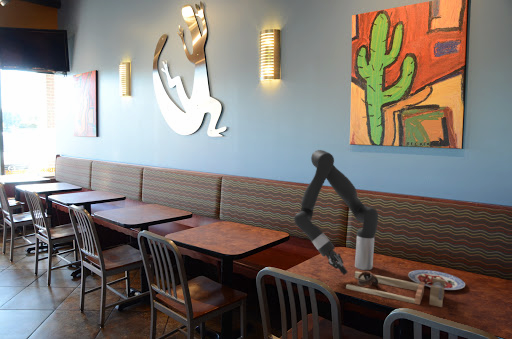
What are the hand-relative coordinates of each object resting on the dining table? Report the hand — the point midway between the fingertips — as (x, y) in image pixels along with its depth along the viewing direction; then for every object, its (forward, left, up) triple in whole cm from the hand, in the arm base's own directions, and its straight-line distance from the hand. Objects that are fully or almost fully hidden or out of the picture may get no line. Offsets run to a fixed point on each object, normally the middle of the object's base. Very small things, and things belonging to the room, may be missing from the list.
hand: (345, 273), depth 194 cm
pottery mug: (0, +11, -4) cm, 12 cm away
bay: (0, +19, -4) cm, 19 cm away
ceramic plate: (-24, +39, -4) cm, 46 cm away
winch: (+1, +41, -4) cm, 41 cm away
